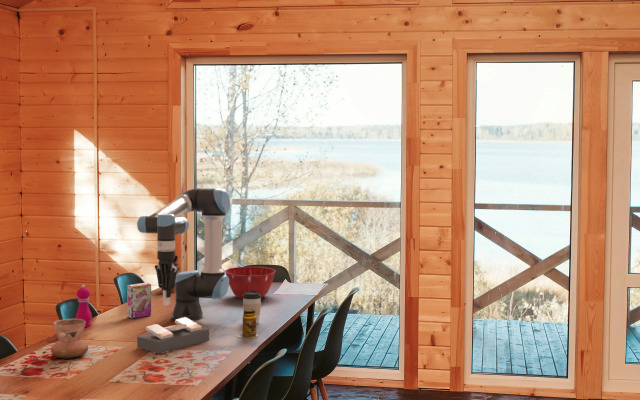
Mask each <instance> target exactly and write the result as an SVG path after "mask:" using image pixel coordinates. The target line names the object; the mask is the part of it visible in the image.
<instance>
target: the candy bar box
mask: <svg viewBox="0 0 640 400" xmlns="http://www.w3.org/2000/svg"><path fill="white" fill-rule="evenodd" d="M126 293H127V294H126V300H127V302H126V306H127V307H126V311H127V313H126V316H127V318H128V317H129V318H128V319H130V318H131V320H134V319H138V318H139V317H140V318H145V316H146V317H150V315H151V316H152V284H151V283H148V282H142V283H134V284H128V285H126ZM133 318H134V319H133ZM140 318H139V319H140Z"/></svg>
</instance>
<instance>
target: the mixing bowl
mask: <svg viewBox="0 0 640 400" xmlns="http://www.w3.org/2000/svg"><path fill="white" fill-rule="evenodd" d="M224 271H225V275H226V276H228V278H229V287H230V290H231V291H232V294H234V296H235V297H237V298H238V299H240V300H243V298H242V297H243V295H244V294H245V292H250V291H256V292H258V293H259V294H260V295H261V299H262V298H263V297H265V296H266V295H267V294H268V293H269V290H270V289H271V286H272V284H273V280H274V278H275V273H276V270H275V269H274V268H269V267H264V266H237V267H235V266H234V267H230V268H227V269H225V270H224Z"/></svg>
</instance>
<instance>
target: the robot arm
mask: <svg viewBox="0 0 640 400" xmlns="http://www.w3.org/2000/svg"><path fill="white" fill-rule="evenodd" d="M230 198H231V197H230V195H229V193H228V191H227V190H225V189H224V188H217V187H215V188H208V187H207V188H205V187H202V188H200V187H195V188H191V189H188V190H186V191H183V192H181V193H180V194H178V195H176V196H175V198H174V199H173V201H171V202H169V203H168V204H166V205H165V206H163V207H162V208H160V209H158V210H156V211H155V212H154V213H152V214H151V215H142V216H140V217H138V219H137V222H136V226H137V231H138V232H139V233H143V234H157V235H156V236H157V237H156V241H157V243H156V245H157V252H156V254H157V255H156V256H157V257H156V258H157V260H158V264H156V265H154V269H155V272H156V278H157V284H158V288H160V289H161V296H162V305H163V306H169V305H171V289H174V286H175V293H174V295H175V296H174V297H175V304H174V306H173V311H172V313H171V319H172V320H173V321H175V320H176V319H181V318H185V317H186V318H188V319H190V320H192V321H197V320H200V319H203V318H204V315H203V309H202V306H201V304H200V299H213V300H218V299H219V300H220V299H223V298H224V297H225V296H226V294H227V292H228V290H229V287H230V285H229V278H228V276H226V272H225V270H224V269H223V267H222V266H223V220H224V218H225V217H226V215H227V213H228V212H230V209H231V199H230ZM190 212H199V213H201V217H202V218H203V219H204V242H203V243H204V248H203V249H204V251H203V253H204V254H203V258H204V259H203V260H204V261H203V268H202V269H201V271H199V270H196V269H195V270H194V269H193V270H187V271H186V270H185V271H180V273H178V274H177V271H178V267H175V266H174V261H173V260H174V259H175V256H176V251H175V249H176V235H182V234H184V233H186V232H187V231H188V230H189V227H190V224H189V223H190V222H189V220H188V219H187V218H186V217H185V216H184V217H183V216H181V215H183V214H184V215H186V214H188V213H190Z"/></svg>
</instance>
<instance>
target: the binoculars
mask: <svg viewBox="0 0 640 400" xmlns="http://www.w3.org/2000/svg"><path fill="white" fill-rule="evenodd" d="M178 259H179V257H178V255H175V259H174V260H173V261H174V266H175V267H178V271H177V274H178V273H180V272H181V267H180V265H179V262H178ZM171 294H172V295H173V294H175V286H174V289H171Z"/></svg>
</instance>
